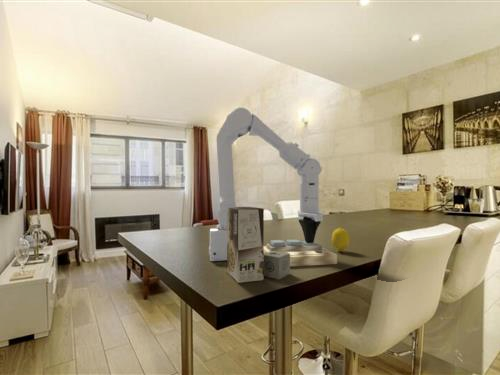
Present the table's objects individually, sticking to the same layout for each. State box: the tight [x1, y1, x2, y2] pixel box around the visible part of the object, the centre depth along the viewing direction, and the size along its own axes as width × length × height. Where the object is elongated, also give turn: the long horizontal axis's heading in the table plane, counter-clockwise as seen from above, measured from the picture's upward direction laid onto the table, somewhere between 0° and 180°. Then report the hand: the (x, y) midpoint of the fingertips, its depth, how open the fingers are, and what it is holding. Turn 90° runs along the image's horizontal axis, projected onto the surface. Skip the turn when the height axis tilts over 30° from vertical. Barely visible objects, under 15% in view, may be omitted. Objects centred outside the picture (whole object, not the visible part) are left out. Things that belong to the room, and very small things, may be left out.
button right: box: [301, 240, 318, 246], centre depth 82 cm, size 4×4×2 cm
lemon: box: [331, 227, 350, 253], centre depth 88 cm, size 6×6×8 cm
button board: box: [264, 243, 338, 267], centre depth 79 cm, size 18×15×4 cm
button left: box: [269, 239, 286, 247], centre depth 80 cm, size 4×4×2 cm
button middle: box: [285, 239, 302, 246], centre depth 81 cm, size 4×4×2 cm
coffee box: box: [226, 206, 265, 284], centre depth 63 cm, size 9×6×16 cm
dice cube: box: [264, 251, 291, 280], centre depth 64 cm, size 5×5×5 cm
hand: (309, 242), depth 82 cm, fingers closed, pressing on button right
